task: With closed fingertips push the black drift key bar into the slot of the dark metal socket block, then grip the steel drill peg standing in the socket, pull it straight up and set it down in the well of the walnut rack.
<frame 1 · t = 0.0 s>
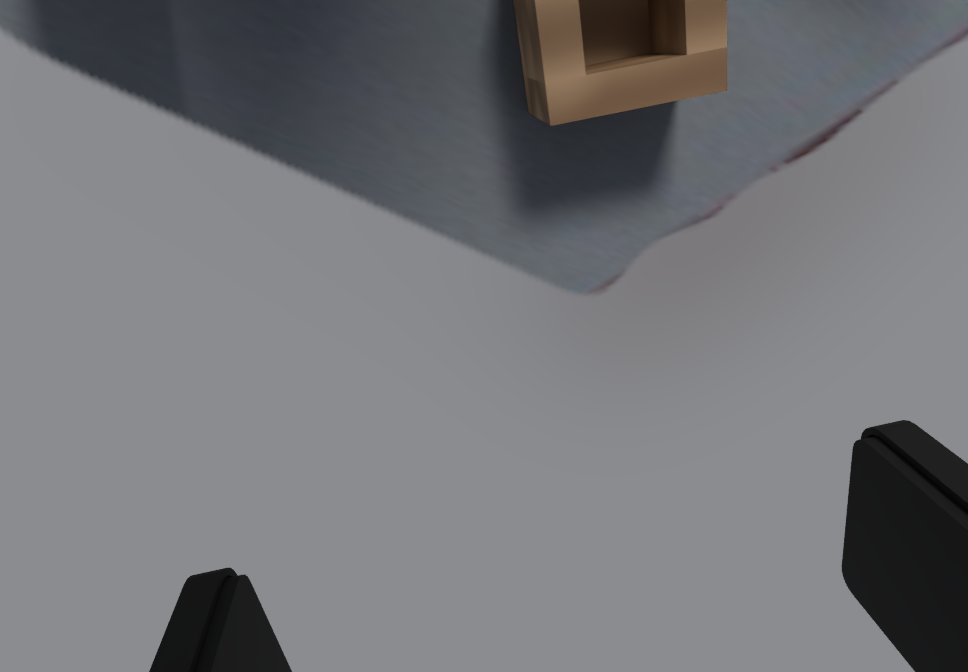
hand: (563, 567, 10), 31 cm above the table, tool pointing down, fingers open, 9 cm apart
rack: (597, 12, 35), on the table
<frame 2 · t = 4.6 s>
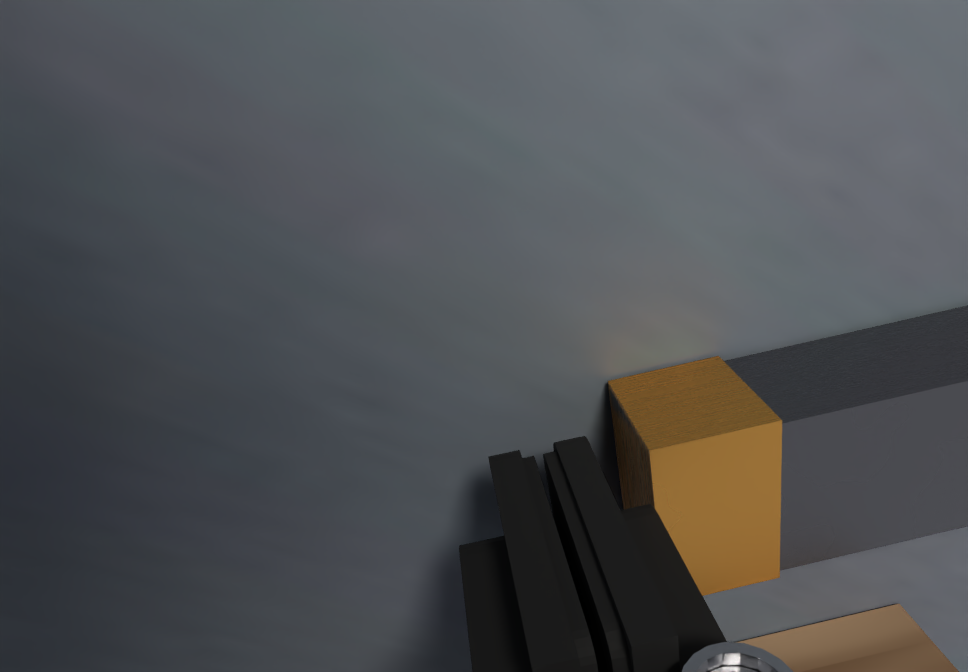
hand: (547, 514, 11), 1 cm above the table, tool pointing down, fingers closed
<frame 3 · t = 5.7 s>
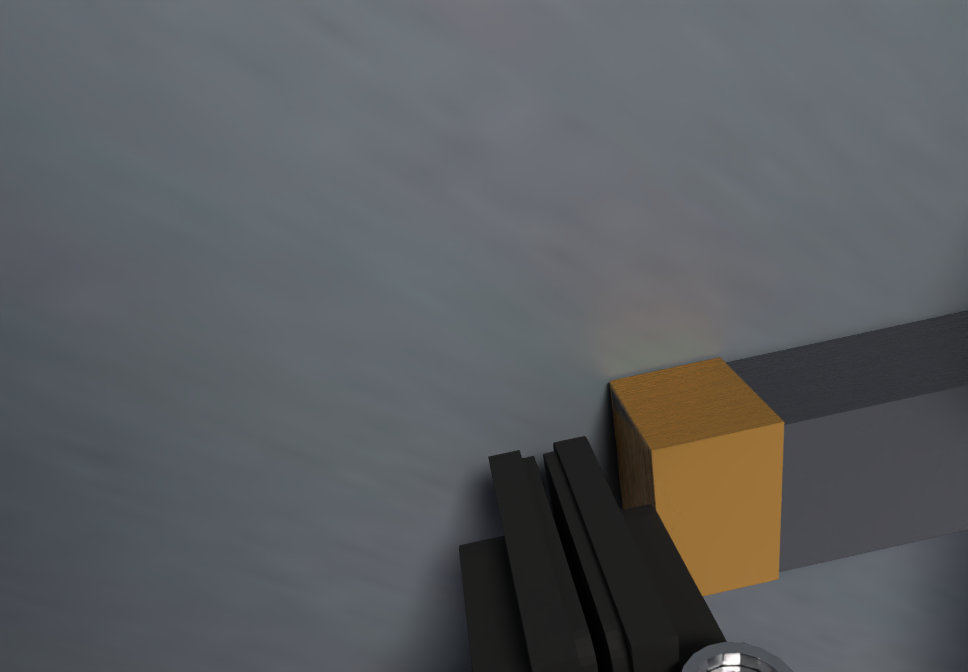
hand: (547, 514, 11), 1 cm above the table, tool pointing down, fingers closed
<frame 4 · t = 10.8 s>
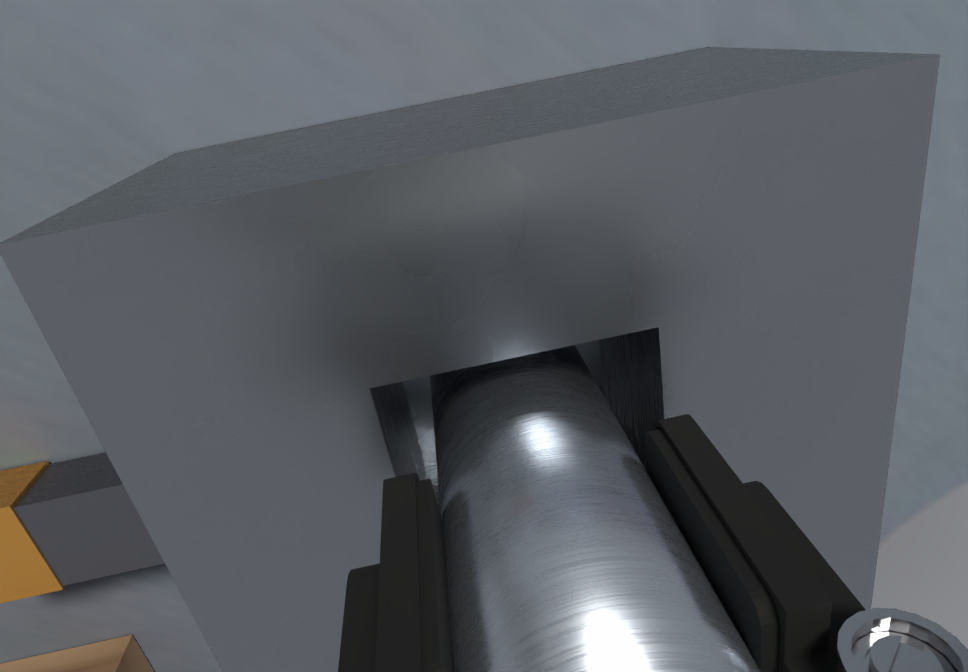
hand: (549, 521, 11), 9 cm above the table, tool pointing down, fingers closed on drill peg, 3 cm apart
socket block: (485, 309, 19), on the table
drift key: (253, 481, 19), point 1 cm above the table, slide at 6.1 cm
drill peg: (501, 362, 16), point 3 cm above the table, touching gripper, socket block
when the fingers open (9 cm above the table, at t = 16.7 s): drill peg drops 2 cm, resting on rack.
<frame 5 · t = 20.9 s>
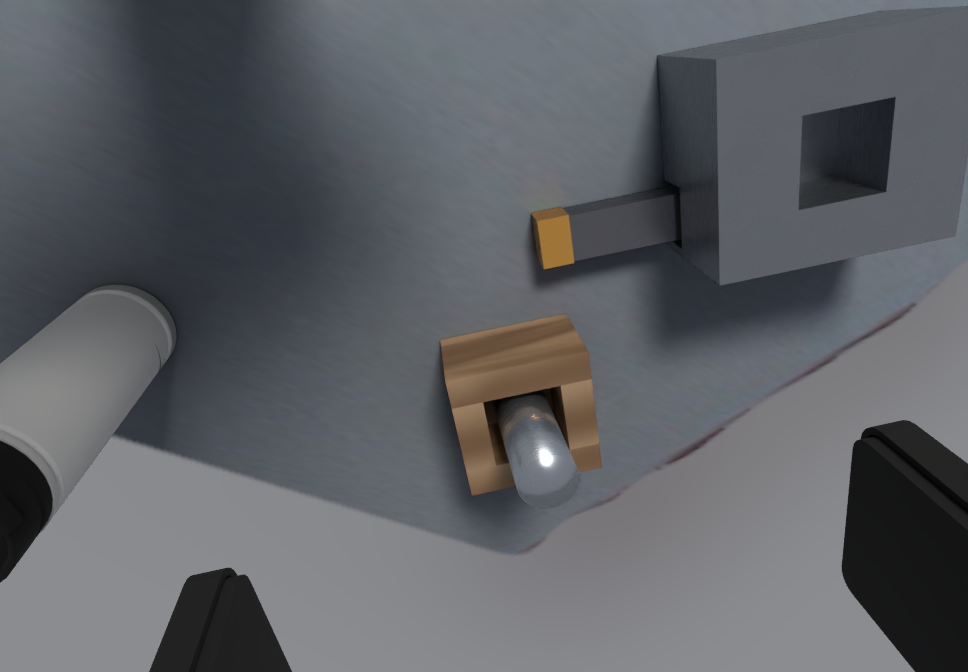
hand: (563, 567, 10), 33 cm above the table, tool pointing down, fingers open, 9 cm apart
socket block: (768, 134, 41), on the table
travel mug: (130, 326, 42), on the table
drift key: (658, 216, 42), point 1 cm above the table, slide at 6.1 cm
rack: (513, 381, 47), on the table
drill peg: (514, 387, 46), point 1 cm above the table, touching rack
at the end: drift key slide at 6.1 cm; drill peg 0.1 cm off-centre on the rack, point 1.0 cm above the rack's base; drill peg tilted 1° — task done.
